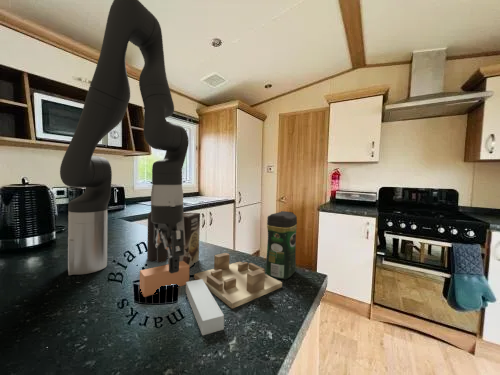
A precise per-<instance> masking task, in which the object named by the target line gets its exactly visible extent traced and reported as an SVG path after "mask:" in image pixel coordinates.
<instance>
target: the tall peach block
mask: <svg viewBox="0 0 500 375" xmlns="http://www.w3.org/2000/svg"><path fill="white" fill-rule="evenodd" d="M188 281H190V268H189V265H188V264H187V263H185V262H184V261H181V262H179V271H178V272H175V273H170V272H169V264H168V263H167V264H164V265H159V266H154V267H150V268H145V269H141V270H139V290H140V289H141V291H140V293H141V292H142V293H141V295H142V296H143V297H144V298H146V297H150V296H153V295H155V294H154V293H155V292H156V290H157V289H159V288H160V287H161V286H165V285H171V284H177V285H179V286H180V287H183V286H186V282H188Z"/></svg>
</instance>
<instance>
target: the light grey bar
mask: <svg viewBox="0 0 500 375" xmlns="http://www.w3.org/2000/svg"><path fill="white" fill-rule="evenodd" d="M185 294H187V295H186V297H187V300H188V303H189V304H190V307H191V309H192V312H193V316H194V318H195V321H196V323H197V325H198V328H199V330H200V333H201V335H202V336H205V335H210V334H212V333H215V332H219V331H223V330H225V329H224V328H225V314H224V313H223V310H221V308H220V306H219V305H218V303H217V300H215V297H214V296H213V293H212V292H211V291H209V289H208V288H207V286H206V284H205V283H204V281H203V279H200V280H196V279H194V280H189V281H188V282H186V285H185Z"/></svg>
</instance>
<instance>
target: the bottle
mask: <svg viewBox="0 0 500 375" xmlns="http://www.w3.org/2000/svg"><path fill="white" fill-rule="evenodd" d="M153 241H154V223H153V222H152V221H151V211H150V212H149V213H148V214H147V242H146V243H147V248H146V251H147V254H146V256H147V257H146V259H147V260H148V261H149V260H150V261H149V262H157V248H156V246H155V245H156V244H154V243H153ZM167 257H168V250H167V249H166V258H167ZM167 259H168V258H167Z"/></svg>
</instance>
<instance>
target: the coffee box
mask: <svg viewBox="0 0 500 375" xmlns="http://www.w3.org/2000/svg"><path fill="white" fill-rule="evenodd" d="M200 228H201V212H184V211H183V220H182V221H181V222H178V223H177V229H178V230H183V232H184V255H182V256H179V262H181V261H184V262H185V263H187V264H188V265H189V269H190V268H191V267H192V266H193V265H195V264H196V263H197V262H198V261H200V234H201V233H200V230H201V229H200ZM179 248H180V246H179ZM171 250H172V248H171ZM167 259H168V261H167V262H168V263H167V264H169V254H168V258H167ZM194 263H195V264H194Z"/></svg>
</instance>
